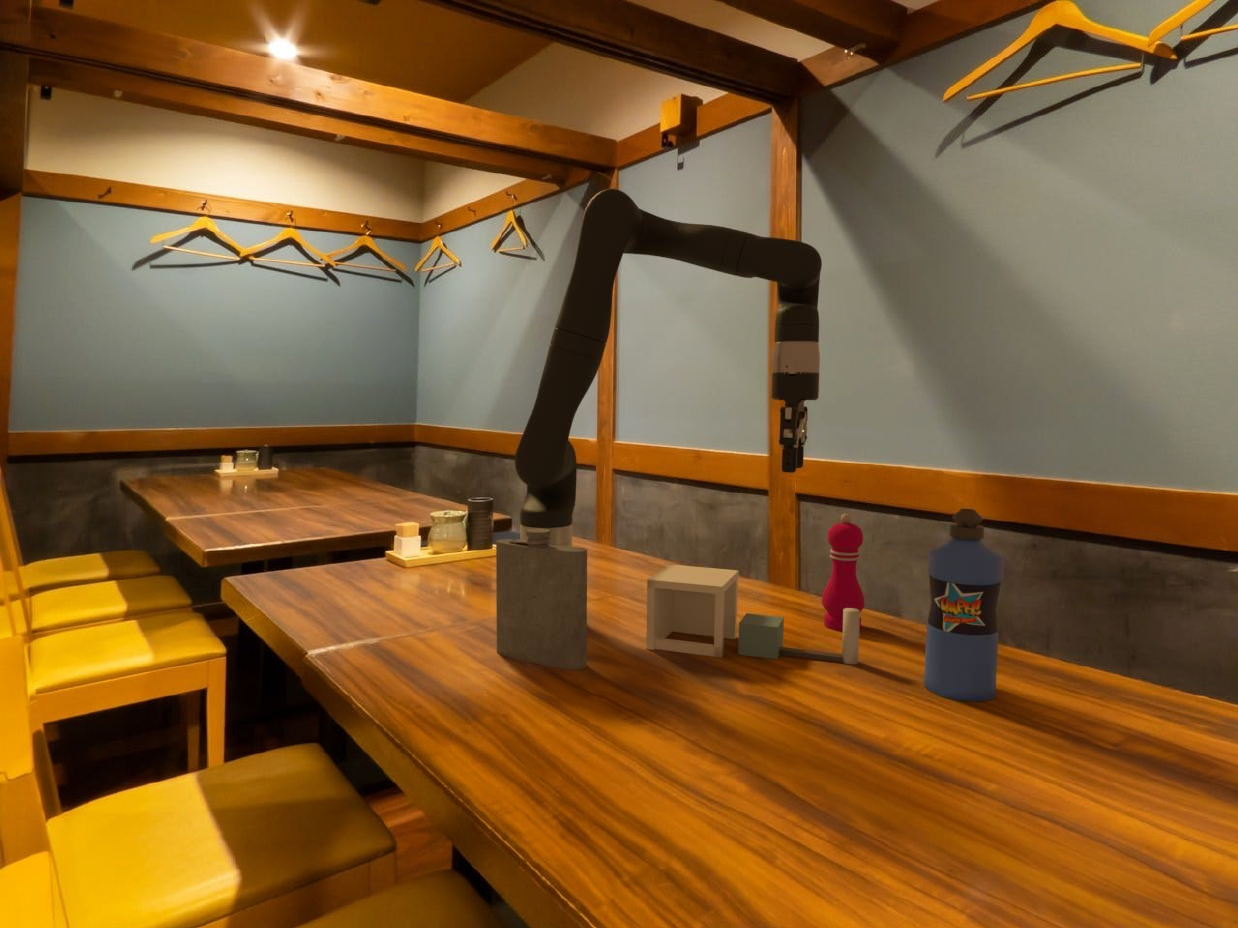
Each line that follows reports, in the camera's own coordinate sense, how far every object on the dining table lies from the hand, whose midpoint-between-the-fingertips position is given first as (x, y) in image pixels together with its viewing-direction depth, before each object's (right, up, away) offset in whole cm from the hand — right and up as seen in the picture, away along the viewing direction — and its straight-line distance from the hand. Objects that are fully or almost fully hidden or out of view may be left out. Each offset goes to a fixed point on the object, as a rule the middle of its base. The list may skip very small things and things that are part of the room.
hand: (792, 470), depth 126 cm
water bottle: (+18, -30, -20) cm, 41 cm away
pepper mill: (+11, -28, +9) cm, 31 cm away
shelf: (-17, -28, -1) cm, 33 cm away
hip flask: (-41, -29, -10) cm, 51 cm away
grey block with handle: (-1, -29, -7) cm, 30 cm away
